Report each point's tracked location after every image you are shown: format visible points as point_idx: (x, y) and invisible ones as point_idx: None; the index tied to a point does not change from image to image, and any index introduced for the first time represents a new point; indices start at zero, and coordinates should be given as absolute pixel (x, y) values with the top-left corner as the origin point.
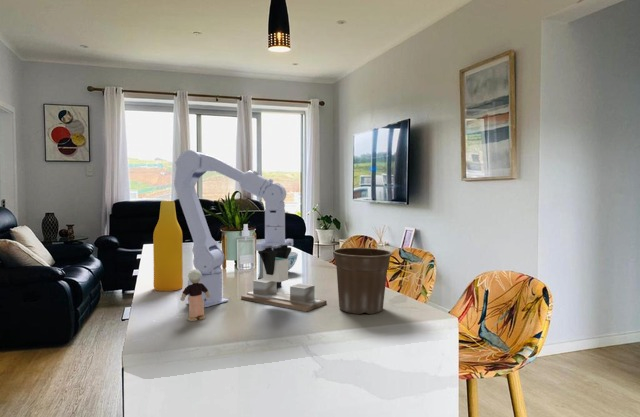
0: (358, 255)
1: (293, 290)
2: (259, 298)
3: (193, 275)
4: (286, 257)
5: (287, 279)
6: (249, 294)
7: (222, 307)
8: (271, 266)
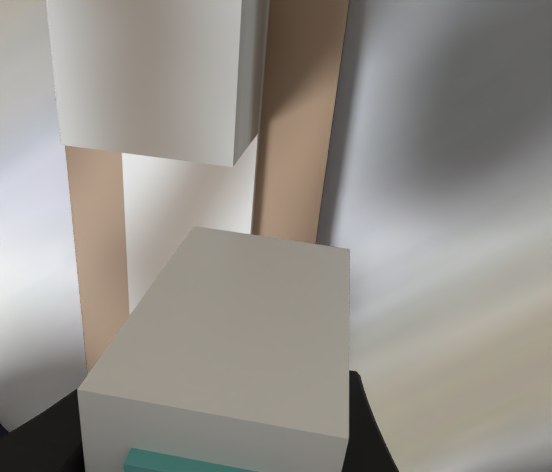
0: None
1: (242, 115)
2: None
3: None
4: (19, 454)
5: (205, 229)
6: None
7: (493, 451)
8: (386, 454)
